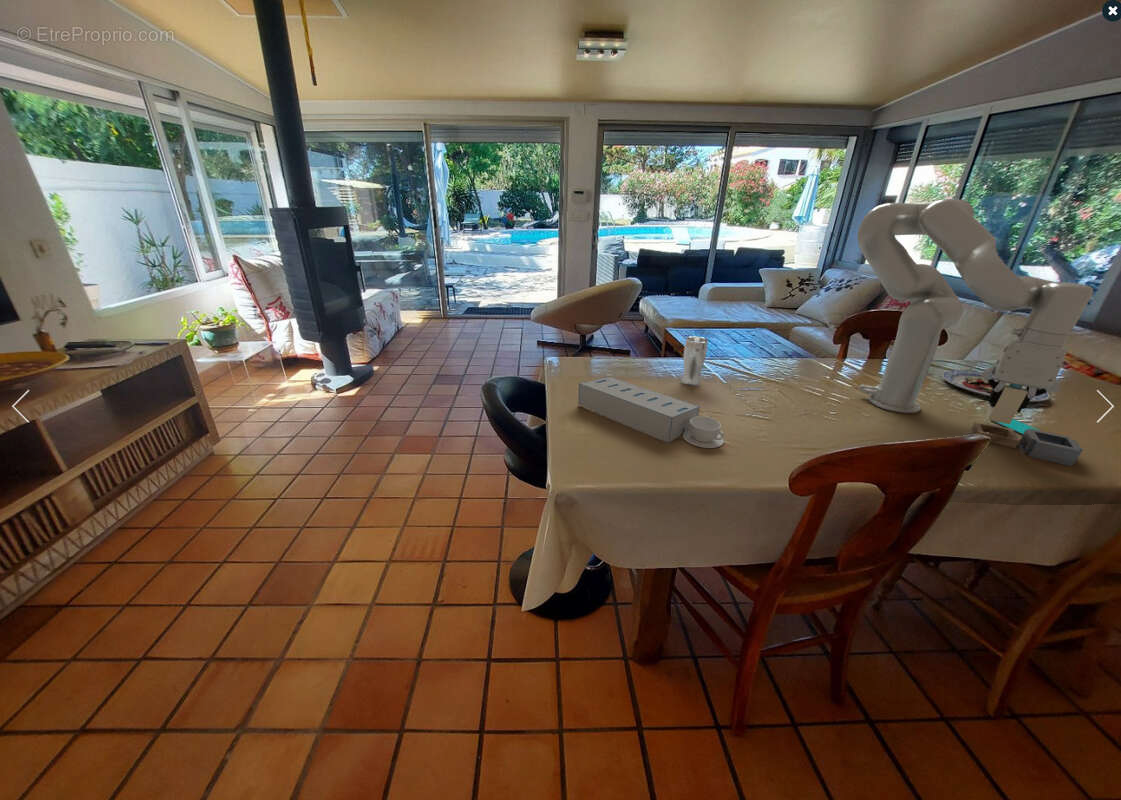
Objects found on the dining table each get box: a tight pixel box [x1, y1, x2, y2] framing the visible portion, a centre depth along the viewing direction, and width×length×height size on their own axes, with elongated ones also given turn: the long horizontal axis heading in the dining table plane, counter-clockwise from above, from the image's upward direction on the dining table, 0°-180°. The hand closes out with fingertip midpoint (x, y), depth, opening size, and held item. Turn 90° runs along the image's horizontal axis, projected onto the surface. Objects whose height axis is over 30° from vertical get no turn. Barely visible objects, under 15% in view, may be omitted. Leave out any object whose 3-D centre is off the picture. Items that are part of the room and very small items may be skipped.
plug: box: [985, 383, 1028, 424], centre depth 105 cm, size 4×4×11 cm
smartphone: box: [989, 418, 1042, 437], centre depth 111 cm, size 7×1×15 cm
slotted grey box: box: [577, 376, 700, 444], centre depth 117 cm, size 30×14×8 cm, turn 46°
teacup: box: [682, 415, 725, 449], centre depth 105 cm, size 10×10×5 cm
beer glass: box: [680, 336, 709, 387], centre depth 137 cm, size 7×7×15 cm
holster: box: [971, 420, 1020, 449], centre depth 108 cm, size 8×8×2 cm
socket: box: [1018, 428, 1084, 467], centre depth 101 cm, size 8×8×4 cm
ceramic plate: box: [941, 369, 1051, 402], centre depth 138 cm, size 26×26×3 cm
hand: (1004, 407), depth 106 cm, fingers closed on plug, 4 cm apart
